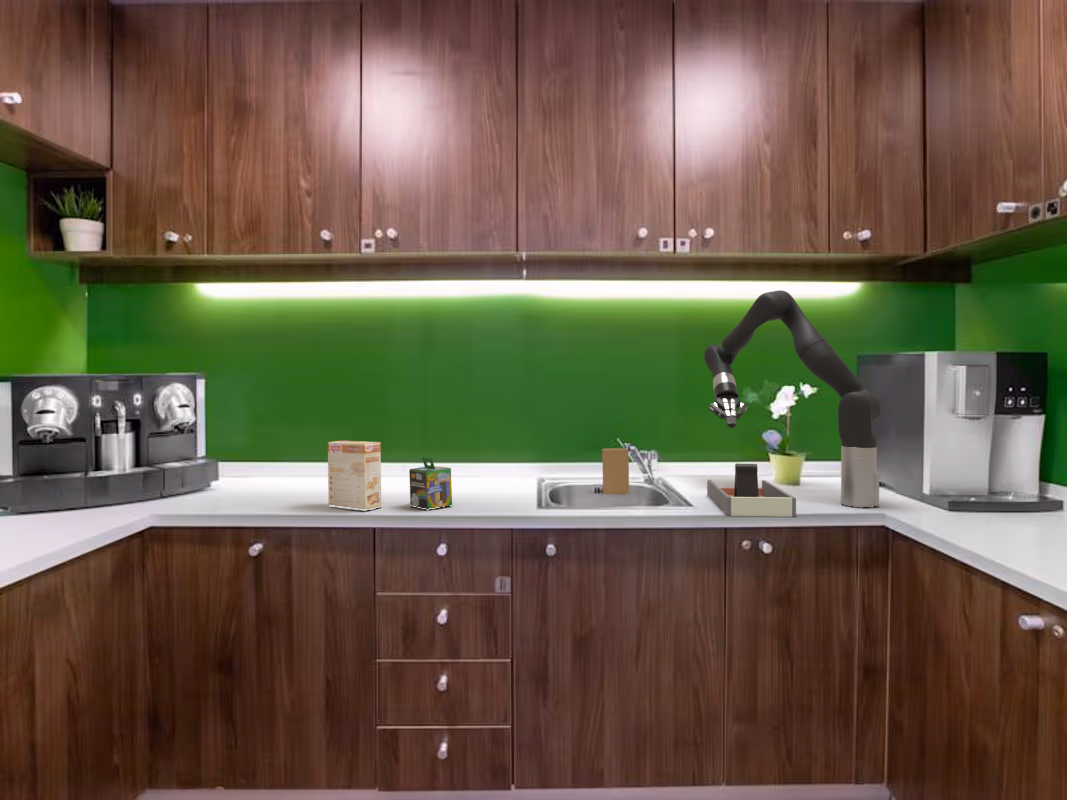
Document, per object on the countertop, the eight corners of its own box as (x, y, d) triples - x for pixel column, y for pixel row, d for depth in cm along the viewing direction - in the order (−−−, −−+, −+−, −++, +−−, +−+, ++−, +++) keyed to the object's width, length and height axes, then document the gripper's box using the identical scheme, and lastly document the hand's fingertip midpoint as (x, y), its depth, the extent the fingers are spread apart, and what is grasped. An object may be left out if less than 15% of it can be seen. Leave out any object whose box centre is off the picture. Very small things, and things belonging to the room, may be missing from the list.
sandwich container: (630, 487, 225) (630, 444, 225) (628, 494, 210) (628, 448, 210) (605, 486, 227) (605, 444, 226) (602, 494, 211) (602, 448, 211)
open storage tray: (765, 495, 205) (765, 480, 205) (795, 516, 173) (796, 498, 173) (707, 495, 207) (707, 479, 207) (727, 515, 175) (727, 497, 175)
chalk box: (452, 506, 190) (452, 456, 190) (427, 511, 184) (426, 459, 183) (434, 502, 197) (433, 454, 196) (408, 507, 190) (408, 457, 190)
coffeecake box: (382, 508, 189) (381, 441, 188) (364, 512, 182) (363, 443, 182) (345, 503, 196) (345, 439, 196) (327, 507, 190) (326, 441, 190)
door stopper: (759, 507, 187) (759, 465, 187) (737, 506, 188) (737, 465, 188) (754, 501, 196) (754, 462, 196) (733, 500, 197) (733, 461, 197)
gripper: (707, 381, 221) (713, 418, 209) (746, 381, 220) (755, 419, 208) (704, 396, 226) (710, 433, 214) (743, 396, 225) (751, 434, 213)
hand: (732, 426), depth 211 cm, fingers closed
